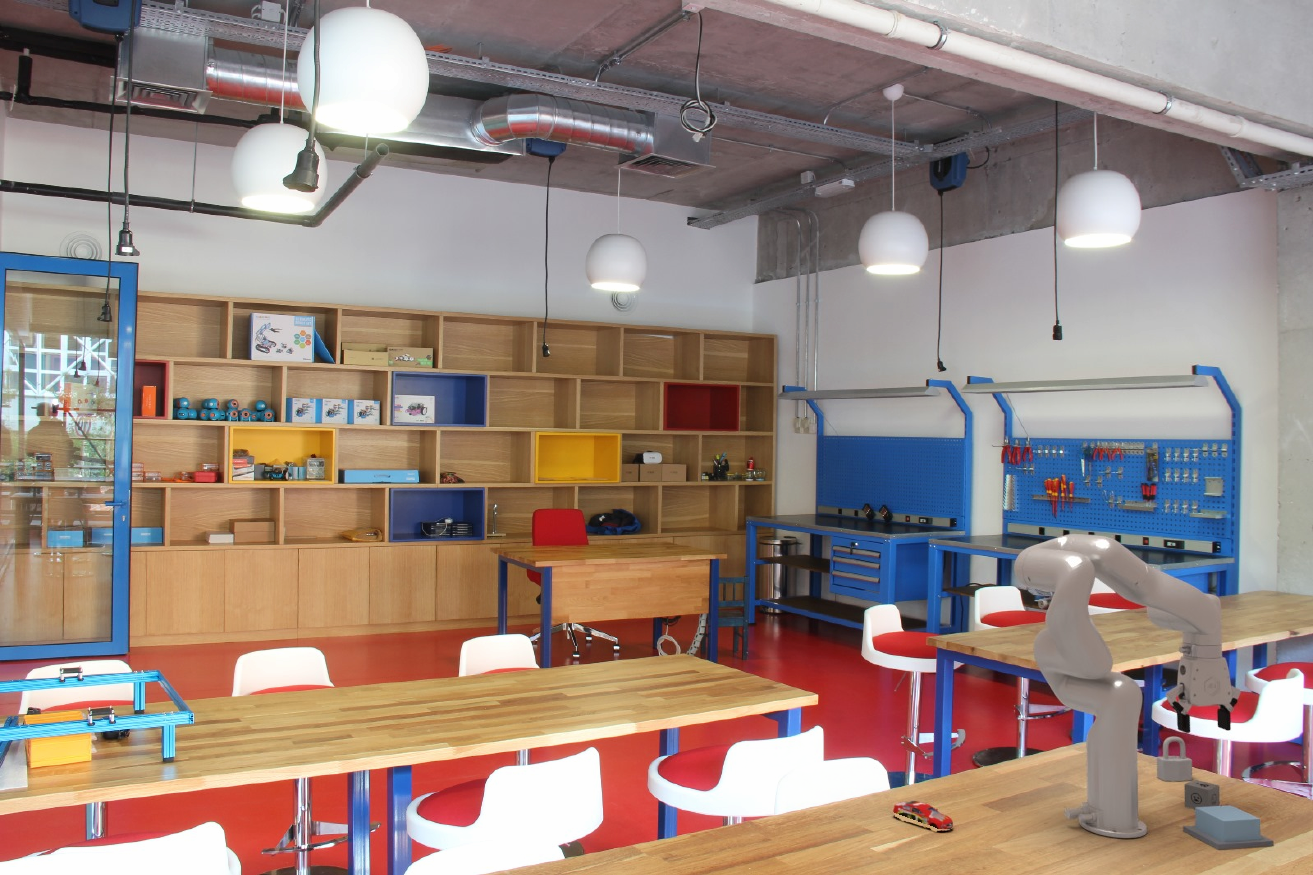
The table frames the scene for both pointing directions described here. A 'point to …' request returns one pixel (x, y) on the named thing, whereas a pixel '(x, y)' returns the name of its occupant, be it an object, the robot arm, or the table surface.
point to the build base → (1227, 828)
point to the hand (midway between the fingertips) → (1204, 730)
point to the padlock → (1174, 763)
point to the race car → (923, 814)
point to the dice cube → (1201, 794)
